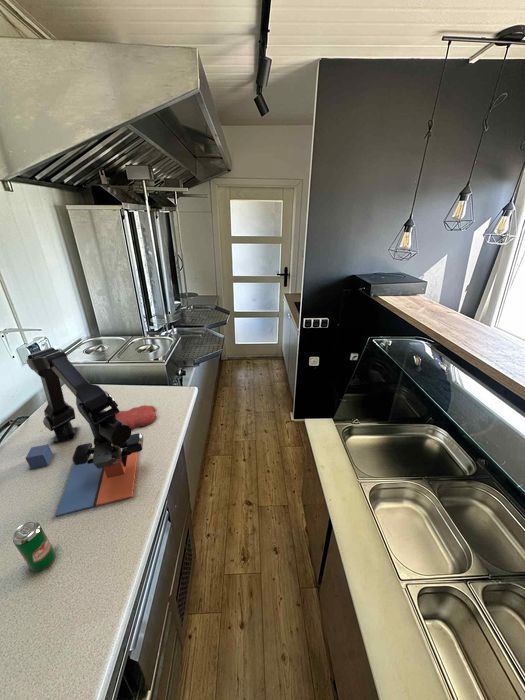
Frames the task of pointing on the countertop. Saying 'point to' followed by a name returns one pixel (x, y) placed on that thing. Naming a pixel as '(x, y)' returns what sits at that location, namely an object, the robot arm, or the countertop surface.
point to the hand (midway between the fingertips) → (116, 467)
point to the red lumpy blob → (137, 416)
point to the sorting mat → (96, 487)
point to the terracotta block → (115, 469)
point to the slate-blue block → (39, 456)
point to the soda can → (34, 545)
